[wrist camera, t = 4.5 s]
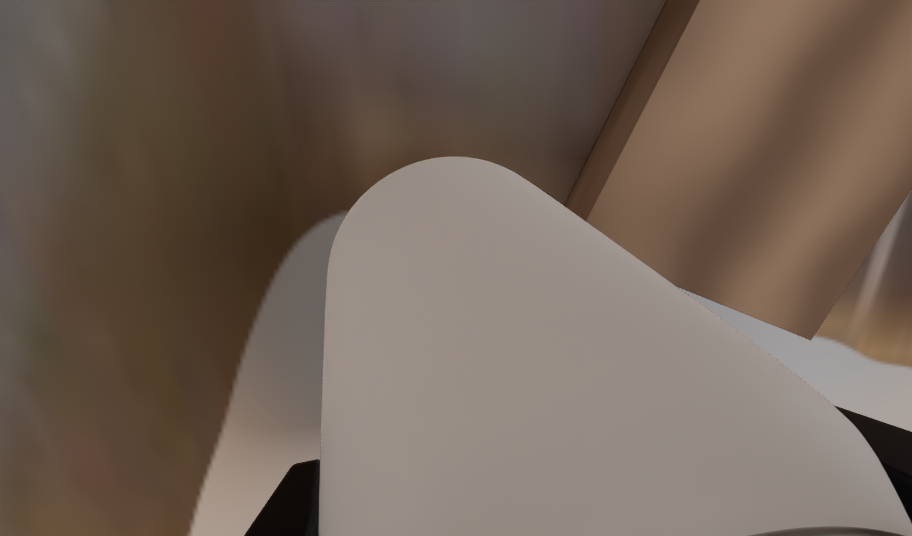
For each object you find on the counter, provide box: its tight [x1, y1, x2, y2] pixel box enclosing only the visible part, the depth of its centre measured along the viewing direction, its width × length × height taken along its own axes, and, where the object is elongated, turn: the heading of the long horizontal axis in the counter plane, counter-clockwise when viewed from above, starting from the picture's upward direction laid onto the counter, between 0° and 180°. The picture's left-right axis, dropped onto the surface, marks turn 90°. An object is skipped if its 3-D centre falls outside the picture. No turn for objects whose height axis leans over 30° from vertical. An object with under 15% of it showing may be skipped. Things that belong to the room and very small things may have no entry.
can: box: [318, 157, 912, 536], centre depth 10 cm, size 6×6×12 cm
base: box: [564, 0, 912, 340], centre depth 21 cm, size 12×12×2 cm
